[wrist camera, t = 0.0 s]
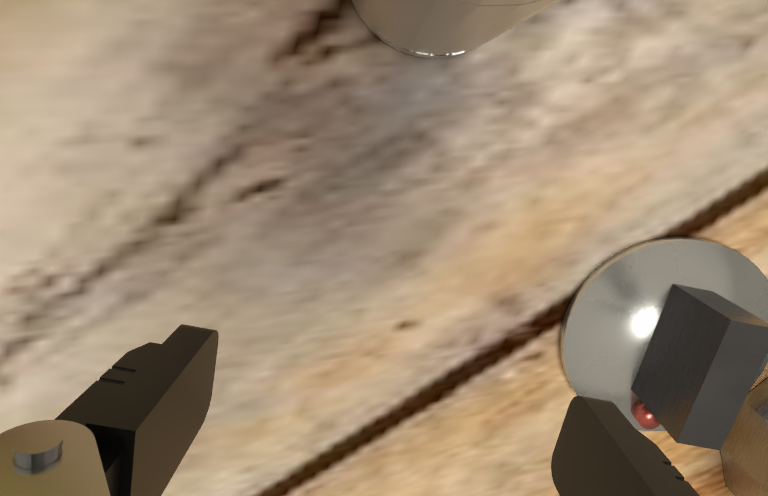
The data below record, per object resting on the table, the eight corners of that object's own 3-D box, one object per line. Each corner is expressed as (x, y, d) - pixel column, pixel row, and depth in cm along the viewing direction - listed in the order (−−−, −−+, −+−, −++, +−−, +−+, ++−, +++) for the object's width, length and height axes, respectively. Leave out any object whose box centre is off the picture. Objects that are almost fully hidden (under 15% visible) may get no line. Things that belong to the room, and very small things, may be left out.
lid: (594, 216, 28) (651, 246, 22) (797, 256, 28) (904, 296, 22) (533, 401, 31) (567, 469, 25) (714, 433, 32) (788, 506, 26)
